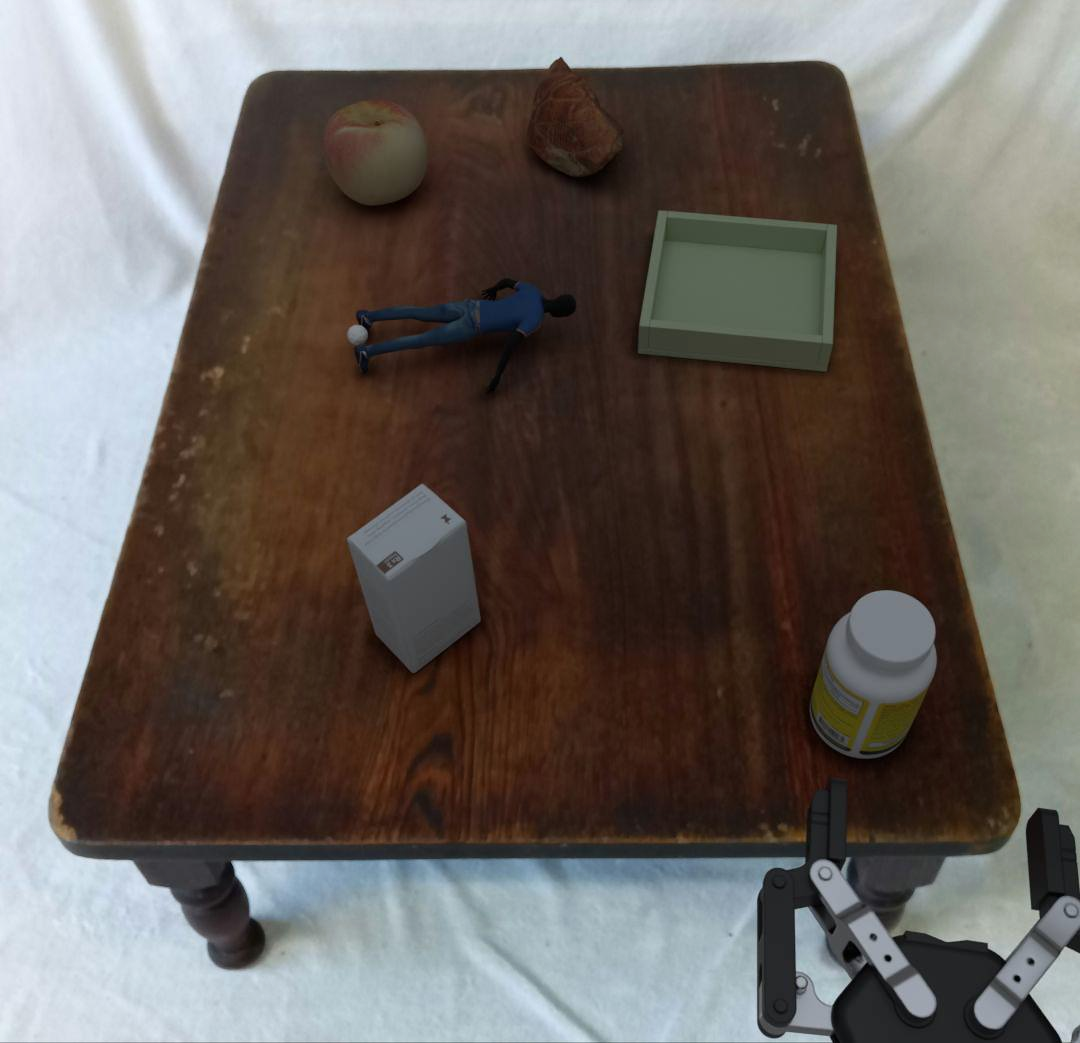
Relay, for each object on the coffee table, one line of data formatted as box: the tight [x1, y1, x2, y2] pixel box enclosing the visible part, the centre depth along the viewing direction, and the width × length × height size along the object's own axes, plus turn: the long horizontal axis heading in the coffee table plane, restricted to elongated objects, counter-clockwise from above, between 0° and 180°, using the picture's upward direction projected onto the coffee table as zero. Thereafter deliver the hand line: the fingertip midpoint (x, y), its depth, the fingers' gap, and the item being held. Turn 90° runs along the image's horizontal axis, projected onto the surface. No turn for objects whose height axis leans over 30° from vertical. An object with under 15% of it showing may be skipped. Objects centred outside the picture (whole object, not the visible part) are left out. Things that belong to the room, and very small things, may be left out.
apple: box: [322, 99, 429, 206], centre depth 103 cm, size 9×9×8 cm
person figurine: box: [346, 277, 577, 396], centre depth 93 cm, size 11×4×18 cm
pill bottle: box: [809, 589, 938, 760], centre depth 70 cm, size 6×6×11 cm
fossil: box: [525, 56, 626, 178], centre depth 106 cm, size 13×8×10 cm
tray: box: [637, 209, 838, 373], centre depth 95 cm, size 15×14×3 cm
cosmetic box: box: [346, 483, 482, 674], centre depth 74 cm, size 6×4×12 cm
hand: (936, 800), depth 51 cm, fingers open, 8 cm apart
